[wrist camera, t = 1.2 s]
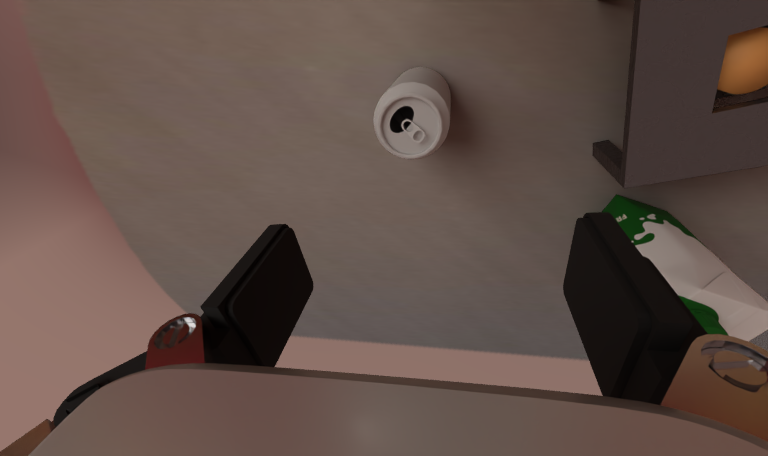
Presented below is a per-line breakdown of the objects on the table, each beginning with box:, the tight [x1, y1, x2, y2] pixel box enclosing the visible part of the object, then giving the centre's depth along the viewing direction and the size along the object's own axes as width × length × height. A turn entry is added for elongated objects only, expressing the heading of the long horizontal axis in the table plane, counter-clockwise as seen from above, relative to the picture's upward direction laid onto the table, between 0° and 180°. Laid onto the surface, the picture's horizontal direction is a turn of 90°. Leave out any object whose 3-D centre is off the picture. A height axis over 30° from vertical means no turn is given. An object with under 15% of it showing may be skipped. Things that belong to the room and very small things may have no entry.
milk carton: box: [602, 194, 768, 341], centre depth 35 cm, size 9×9×20 cm
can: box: [374, 67, 451, 160], centre depth 35 cm, size 8×8×12 cm
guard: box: [593, 0, 768, 188], centre depth 28 cm, size 18×18×9 cm
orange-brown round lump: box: [717, 27, 768, 94], centre depth 28 cm, size 5×5×4 cm
